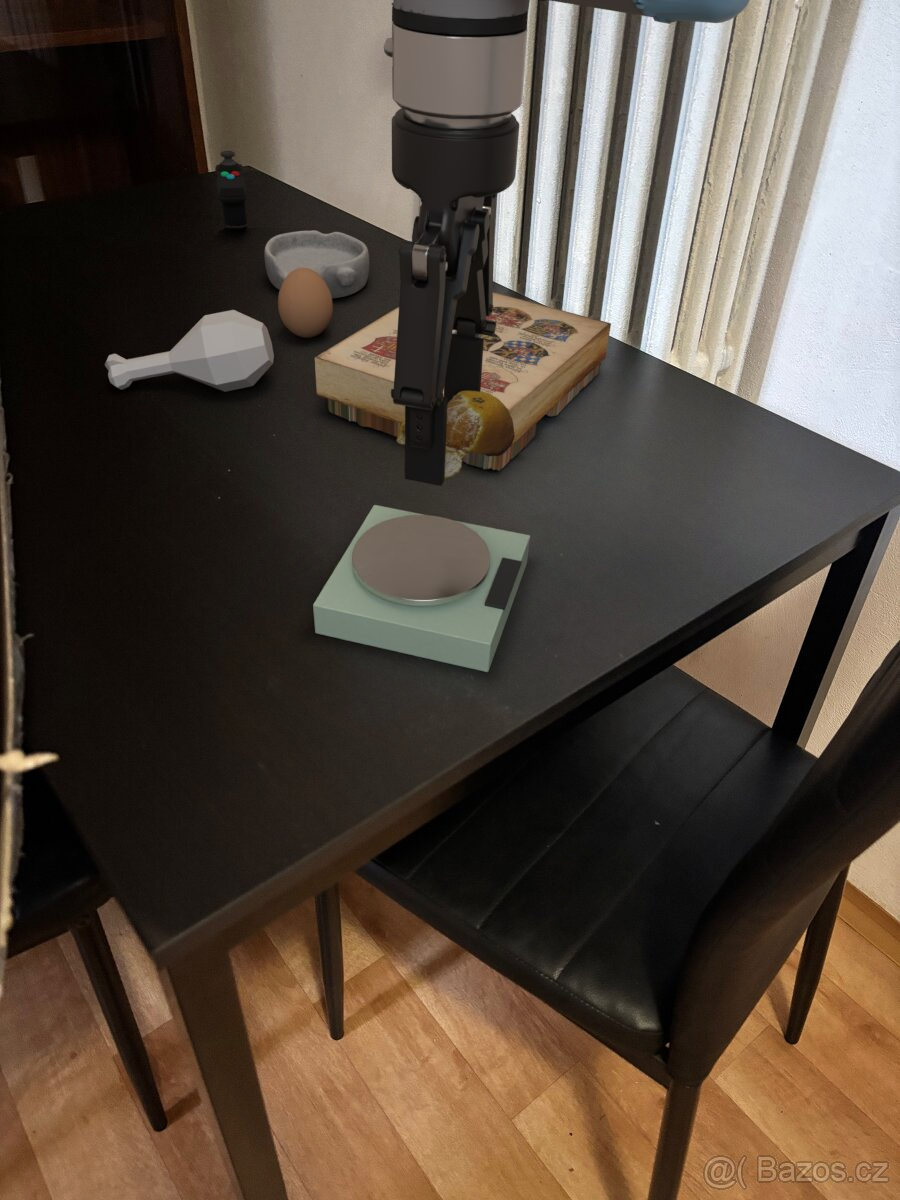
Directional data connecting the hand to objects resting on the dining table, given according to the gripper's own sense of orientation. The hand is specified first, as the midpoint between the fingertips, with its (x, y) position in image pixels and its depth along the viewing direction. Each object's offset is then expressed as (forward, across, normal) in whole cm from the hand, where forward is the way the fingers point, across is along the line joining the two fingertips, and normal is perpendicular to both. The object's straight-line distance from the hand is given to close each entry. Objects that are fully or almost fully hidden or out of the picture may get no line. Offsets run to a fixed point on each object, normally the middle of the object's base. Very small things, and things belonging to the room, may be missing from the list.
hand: (443, 445), depth 68 cm
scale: (+13, +2, 0) cm, 13 cm away
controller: (+13, -70, -53) cm, 88 cm away
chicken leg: (+13, -24, -36) cm, 45 cm away
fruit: (+1, -1, 0) cm, 1 cm away
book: (+13, -34, -8) cm, 37 cm away
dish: (+13, -56, -34) cm, 67 cm away
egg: (+13, -40, -29) cm, 51 cm away
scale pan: (+10, +2, -1) cm, 10 cm away
